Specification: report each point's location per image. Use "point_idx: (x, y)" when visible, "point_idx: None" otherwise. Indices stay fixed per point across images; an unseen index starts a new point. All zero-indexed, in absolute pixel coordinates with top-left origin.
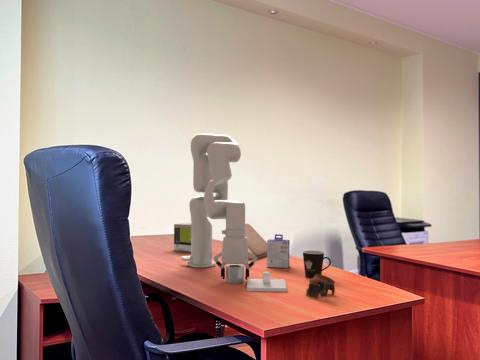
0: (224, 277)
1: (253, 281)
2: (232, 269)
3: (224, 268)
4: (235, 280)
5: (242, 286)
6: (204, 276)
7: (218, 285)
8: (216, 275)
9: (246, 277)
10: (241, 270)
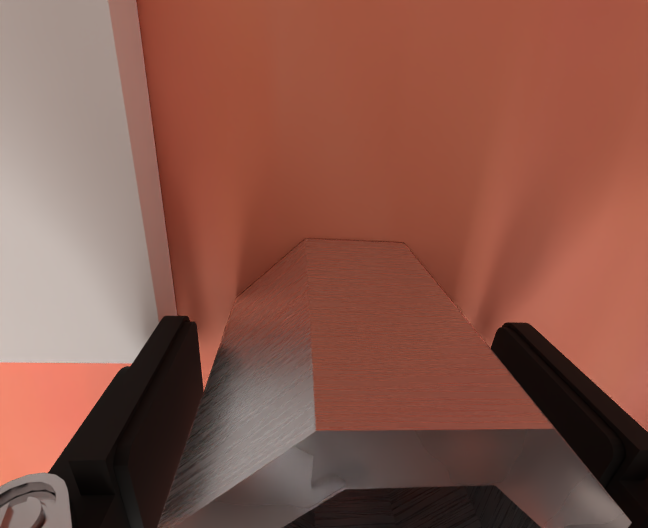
0: None
1: (28, 195)
2: (477, 387)
3: None
4: (347, 256)
5: (230, 60)
6: None
7: (593, 130)
8: None
9: (166, 332)
10: (228, 416)
